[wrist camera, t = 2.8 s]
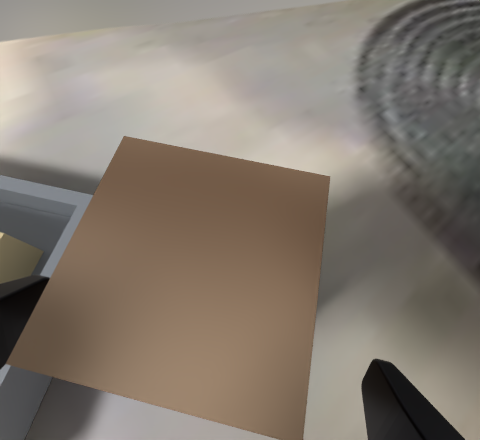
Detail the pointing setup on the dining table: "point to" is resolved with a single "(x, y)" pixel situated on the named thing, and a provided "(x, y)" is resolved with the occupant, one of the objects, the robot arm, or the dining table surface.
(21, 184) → the housing
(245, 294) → the post
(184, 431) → the dining table surface
